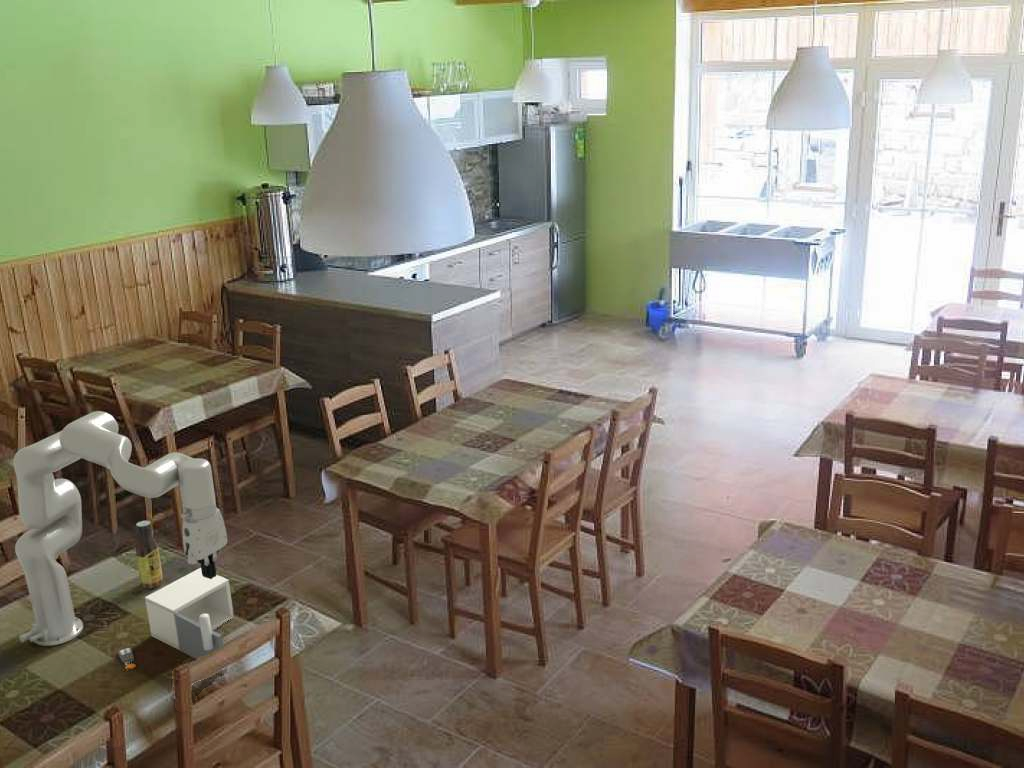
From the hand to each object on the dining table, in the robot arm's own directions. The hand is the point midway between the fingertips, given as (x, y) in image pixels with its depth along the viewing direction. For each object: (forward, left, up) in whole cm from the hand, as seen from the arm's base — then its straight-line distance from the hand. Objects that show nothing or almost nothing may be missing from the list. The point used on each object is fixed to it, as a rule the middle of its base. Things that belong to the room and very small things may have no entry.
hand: (209, 576), depth 236 cm
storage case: (+8, +22, -26) cm, 35 cm away
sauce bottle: (+16, +51, -27) cm, 59 cm away
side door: (-3, +6, -26) cm, 27 cm away
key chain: (-12, +22, -27) cm, 37 cm away
